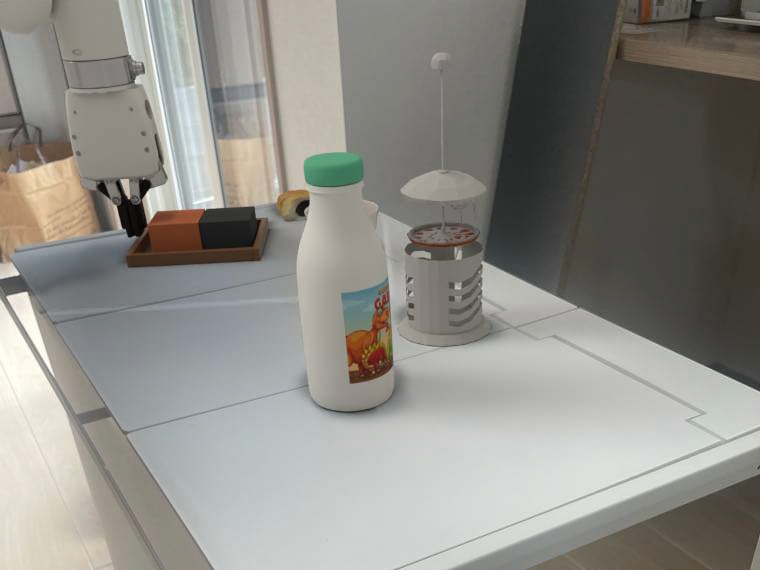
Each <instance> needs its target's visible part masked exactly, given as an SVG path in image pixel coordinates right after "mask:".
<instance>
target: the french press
mask: <svg viewBox="0 0 760 570" xmlns="http://www.w3.org/2000/svg"><path fill="white" fill-rule="evenodd" d="M430 66H431V69H435V70H438V69H439V70H440V146H441V148H440V149H441V150H440V151H441V152H440V153H441V156H440V157H441V168H439V169H437V170H436V169H435V170H432V171H429V172H425V173H424V174H423V173H422V174H420V175H418V176H416V177H414V178H412V179H410V180H409V181H408V182H407V183H406V184H405V185H404V186H402V187H401V189H400V190H399V191H400V192H401V194H402V196H403V198H404V200H406V201H408V202H410V203H411V202H412V203H414V204H420V205H424V206H441V221H432V222H430V221H429V222H424V223H423V224H422V223H421V224H418V225H415V226H413V227H412V228H410V229H409V230H408V232H407V233H406V236H407V238H408V240H409V242H410V243H407V244H406V245H405V247H404V252H403V253H404V271H405V297H406V298H405V303H406V304H405V305H406V315H405V317H404V318H403V319H402V320H401V322H400V323H399V325H398V326H397V330H398V334H399V335H400V336H401V337H403V338H404V339H406V340H407V341H409V342H413V343H416V344H420V345H424V346H433V347H451V346H462V345H467V344H469V343H472V342H476V341H479V340H481V339H482V338H484V337H485V336H487V335H489V333H490V331H491V329H492V324H491V322H490V321H489V319H488V318H487V317H486V316H485V315H484V314H483V302H482V299H483V289H482V288H483V283H484V281H483V280H484V278H483V277H482V275H483V269H484V265H483V264H482V262H483V260H484V247H483V245H482V244H481V242H480V241H477V240H478V238H479V236H480V234H481V231H480V229H479V228H478V226H477V225H478V223H477V222H478V220H477V218H478V217H477V214H478V213H477V209H476V204H475V201H477V200H479V199H481V198H483V196H484V194H485V192H486V190H487V187H486V186H485V185H484V183H482V182H481V181H479V180H477V179H476V178H475V177H473V176H472V175H470V174H468V173H464V172H462V171H459V170H449V169H447V168H445V165H444V164H445V155H444V154H445V150H444V149H445V147H444V141H445V139H444V138H445V137H444V136H445V135H444V70H445V69H452V68H453V58H452V56H451V55H450V54H449V53H448V52H443V51H441V52H437V53H435V54H434V55H433V56H432V58H431V61H430ZM468 203H471V204H472V209H473V214H474V215H473V216H474V221H473V224H470V223H468V222H463V213H462V210H465V209H466V208H467V207H468ZM461 204H462V205H463V206H462V205H461ZM455 205H457V206H455ZM445 206H450V207H451V208H452V209H453V210H458V214H459V215H458V217H459V221H458V222H457V221H455V222H454V221H450V220H448V221H447V220H446V221H445ZM455 248H456V249H455ZM460 249H461V258H460V259H457V258H458V255H459V252H460ZM455 250H456V251H455ZM414 252H426V253H430V258H428V257H424V256H421V257H415V256H412V254H413V253H414ZM411 281H412V283H410V282H411ZM456 284H461V288H460V289H457V288H455V287H456ZM411 293H413V295H411ZM456 297H459V298H460V297H461V300H460V302H458V301H456Z"/></svg>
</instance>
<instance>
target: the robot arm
mask: <svg viewBox="0 0 760 570" xmlns="http://www.w3.org/2000/svg"><path fill="white" fill-rule="evenodd" d="M48 22H51V23H52V24H53V28H54V31H55V35H56V39H57V44H58V47H59V51H60V55H61V59H62V64H63V67H64V72H65V75H66V79H67V83H68V87H69V88H67V89H66V90H65V91H64V92H65V93H64V95H65V97H64V98H65V109H66V110H65V111H66V120H67V127H68V133H69V134H68V135H69V138H70V139H69V140H70V145H71V150H72V154H73V155H72V156H73V160H74V163H75V168H76V170H77V172H78V174H79V176H80V178H79V179H80V187H81V188H82V189H84V190H89V191H94V192H100V193H101V194H102V195H104V196H105V197H106V198H107V199H108V200H110V201H111V203H112V204H113V205H114V206H115V207H116V210H117V213H118V218H119V222H120V227H121V229H122V230H125V232H126V236H127V238H133V237H136V238H138V237H141V235H142V234H143V233H144V231H145V228H146V227H147V224H148V219H147V216H146V211H145V210H146V209H145V206H144V201H143V199H144V198H145V196H146V195H147V193H148V192H149V190H151V189H153V188H157V187H160V186H161V187H162V186H163V185H166V183H167V182H168V180H169V177H168V174H167V172H166V170H165V167H164V165H165V156H164V149H163V146H162V142H161V138H160V134H159V132H158V131H159V130H158V126H157V122H156V119H155V116H154V112H153V109H152V106H151V103H150V101H149V97H148V94H147V91H146V89H145V87H144V85H143V83H136V81H135V80H137V77H139V76H141V75H146V67H145V63H144V62H143V61H137V60H134V59H133V57H132V54H130V52H129V46H128V41H127V37H126V31H125V26H124V23H123V17H122V13H121V8H120V3H119V0H0V29H1V30H2V31H4V32H6V33H8V34H9V33H10V34H13V35H20V36H21V35H30V34H33V33H35V32H38V31H39V30H41V28H43V27H44V26H45V25H46V24H47V23H48ZM122 180H128V188H129V197H128V195H127V193H126V191H125V188H124V186H123V183H122Z"/></svg>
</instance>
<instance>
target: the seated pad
mask: <svg viewBox="0 0 760 570" xmlns="http://www.w3.org/2000/svg"><path fill="white" fill-rule="evenodd" d="M256 218H257V215H256V207H255V206H254V205H251V206H249V205H248V206H233V207H213V208H205V213H204V215H203V216H202V218H201V220H200V222H199V225H200V230H201V236H202V242H203V247H204V250H205V249H224V248H243V247H253V245H254V242H255V239H256V236H257V232H258V228H257V220H256Z"/></svg>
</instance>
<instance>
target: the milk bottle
mask: <svg viewBox="0 0 760 570" xmlns="http://www.w3.org/2000/svg"><path fill="white" fill-rule="evenodd" d="M364 171H365V170H364V160H363V158H362V156H361V155H359V154H357V153H352V152H343V151H334V152H332V151H331V152H323V153H317V154H314V155H310V156H308V157H306V158H305V159H304V160H303V176H304V180H305V190H307V191H309V195H310V205H309V212H308V218H307V220H306V221H305V222H306V223H305V226H304V229H303V231H302V235H301V238H300V241H299V246H298V251H297V256H296V284H297V285H296V286H297V298H298V303H299V304H298V305H299V306H298V307H299V313H300V314H299V315H300V324H301V332H302V333H301V334H302V342H303V350H304V358H305V366H306V375H307V383H308V389H309V390H308V392H309V395H310V397H311V398H312V400H313V402H314V403H316V404H317V405H318V406H320V407H322V408H324V409H328V410H331V411H336V412H358V411H364V410H368V409H372V408H375V407H378V406H380V405H382V404H384V403H385V402H387V401H388V400H389V399H390V398H391V396H392V394H393V392H394V390H395V370H394V368H395V367H394V349H393V347H394V346H393V328H392V312H391V310H392V309H391V292H390V282H389V281H390V280H389V269H388V263H387V256H386V253H385V250H384V247H383V244H382V241H381V239H380V237H379V235H378V233H377V230H376V231H375V229H374V227H373V225H372V223H371V221H370V218H369V216H368V214H367V211H366V208H365V205H364V202H363V200H364V197H363V188H364V187H365V182H364V176H365V174H364V173H365V172H364Z"/></svg>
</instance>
